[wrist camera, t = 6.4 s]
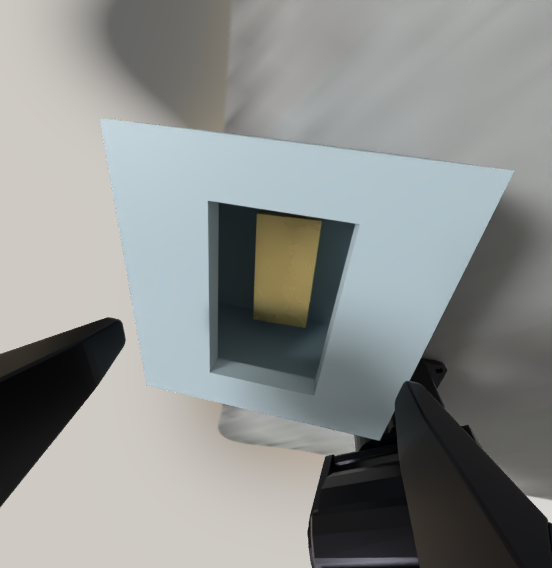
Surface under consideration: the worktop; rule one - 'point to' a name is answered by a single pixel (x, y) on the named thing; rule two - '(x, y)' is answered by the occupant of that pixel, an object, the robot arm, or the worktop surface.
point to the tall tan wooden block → (284, 266)
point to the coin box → (327, 275)
